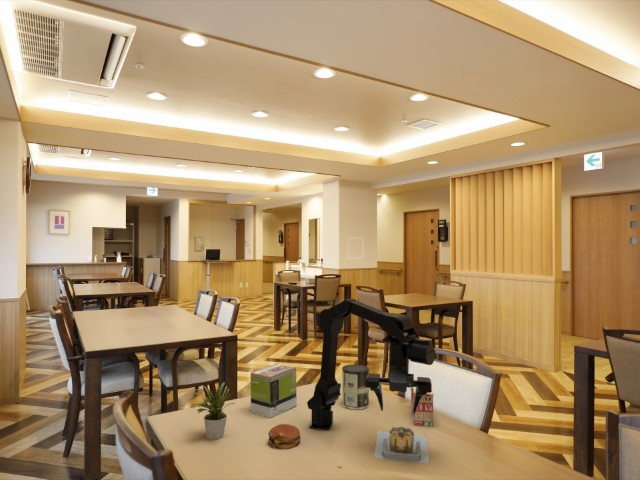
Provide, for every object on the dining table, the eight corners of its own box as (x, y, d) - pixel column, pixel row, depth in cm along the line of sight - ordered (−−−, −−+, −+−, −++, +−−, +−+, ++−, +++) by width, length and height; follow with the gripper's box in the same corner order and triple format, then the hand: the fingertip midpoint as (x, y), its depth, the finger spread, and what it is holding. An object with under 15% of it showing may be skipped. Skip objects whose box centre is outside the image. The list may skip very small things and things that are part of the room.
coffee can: (367, 400, 171) (367, 364, 171) (370, 410, 161) (370, 371, 161) (341, 400, 171) (341, 363, 172) (342, 409, 161) (342, 371, 161)
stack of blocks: (410, 406, 165) (410, 373, 165) (427, 407, 164) (427, 374, 164) (413, 429, 144) (413, 392, 144) (433, 431, 143) (433, 393, 143)
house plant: (199, 425, 146) (200, 376, 146) (240, 425, 145) (241, 376, 146) (185, 444, 132) (186, 389, 132) (230, 445, 131) (231, 390, 132)
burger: (298, 435, 139) (298, 420, 139) (302, 448, 130) (302, 432, 130) (266, 437, 137) (267, 422, 137) (269, 451, 128) (269, 435, 128)
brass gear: (389, 455, 123) (389, 437, 123) (390, 444, 129) (390, 427, 130) (413, 457, 122) (413, 439, 122) (412, 447, 128) (412, 429, 128)
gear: (389, 443, 130) (389, 433, 131) (390, 433, 138) (390, 423, 138) (413, 445, 129) (413, 435, 129) (413, 435, 136) (413, 425, 136)
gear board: (373, 461, 121) (374, 452, 122) (377, 434, 139) (377, 426, 139) (429, 467, 119) (429, 457, 119) (426, 439, 136) (426, 430, 136)
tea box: (277, 400, 170) (277, 362, 170) (297, 406, 164) (297, 367, 164) (249, 412, 158) (249, 371, 158) (270, 418, 152) (270, 376, 152)
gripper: (364, 363, 122) (363, 419, 122) (433, 368, 118) (432, 426, 118) (367, 354, 133) (367, 405, 133) (430, 358, 129) (430, 411, 129)
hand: (397, 412), depth 128 cm, fingers open, 9 cm apart
